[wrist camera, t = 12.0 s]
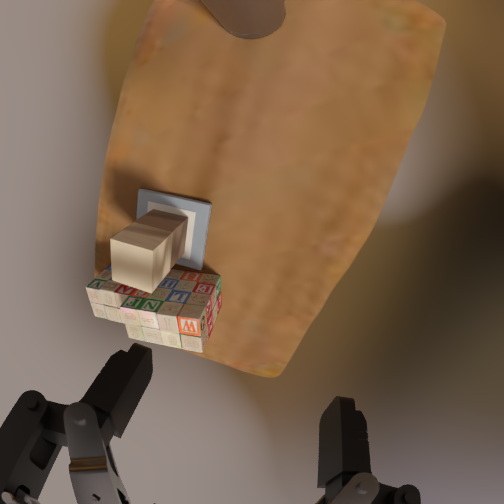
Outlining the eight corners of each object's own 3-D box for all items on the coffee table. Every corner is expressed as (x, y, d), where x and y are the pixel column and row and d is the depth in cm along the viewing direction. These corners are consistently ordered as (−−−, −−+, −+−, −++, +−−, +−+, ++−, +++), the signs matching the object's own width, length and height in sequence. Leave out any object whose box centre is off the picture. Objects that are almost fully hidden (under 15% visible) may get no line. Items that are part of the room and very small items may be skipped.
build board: (141, 188, 42) (137, 190, 41) (212, 203, 41) (209, 205, 40) (138, 249, 47) (135, 252, 46) (202, 267, 46) (200, 270, 45)
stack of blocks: (118, 289, 52) (84, 326, 41) (112, 261, 49) (74, 295, 38) (222, 305, 49) (202, 354, 38) (221, 274, 46) (199, 320, 35)
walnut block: (153, 208, 42) (133, 221, 37) (188, 217, 42) (172, 231, 36) (151, 243, 45) (133, 259, 39) (184, 252, 44) (169, 270, 39)
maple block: (134, 222, 37) (110, 238, 31) (173, 231, 36) (152, 250, 31) (133, 259, 39) (112, 280, 34) (169, 270, 39) (151, 293, 34)
